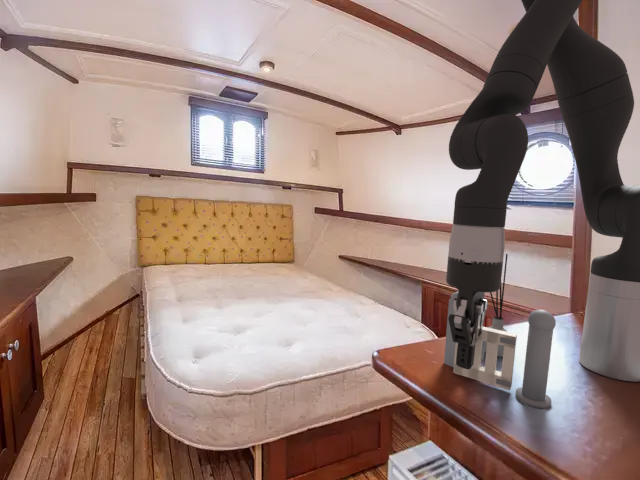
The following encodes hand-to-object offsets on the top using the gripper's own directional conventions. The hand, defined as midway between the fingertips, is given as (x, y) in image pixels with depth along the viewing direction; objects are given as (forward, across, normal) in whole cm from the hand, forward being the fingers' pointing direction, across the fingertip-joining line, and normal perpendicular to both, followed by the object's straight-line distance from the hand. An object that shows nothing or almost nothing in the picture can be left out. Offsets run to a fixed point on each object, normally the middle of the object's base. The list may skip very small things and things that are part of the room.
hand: (464, 366), depth 52 cm
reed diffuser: (+4, -19, 0) cm, 19 cm away
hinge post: (+4, -5, +9) cm, 11 cm away
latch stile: (+4, -9, -2) cm, 10 cm away
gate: (+3, -5, +2) cm, 6 cm away
